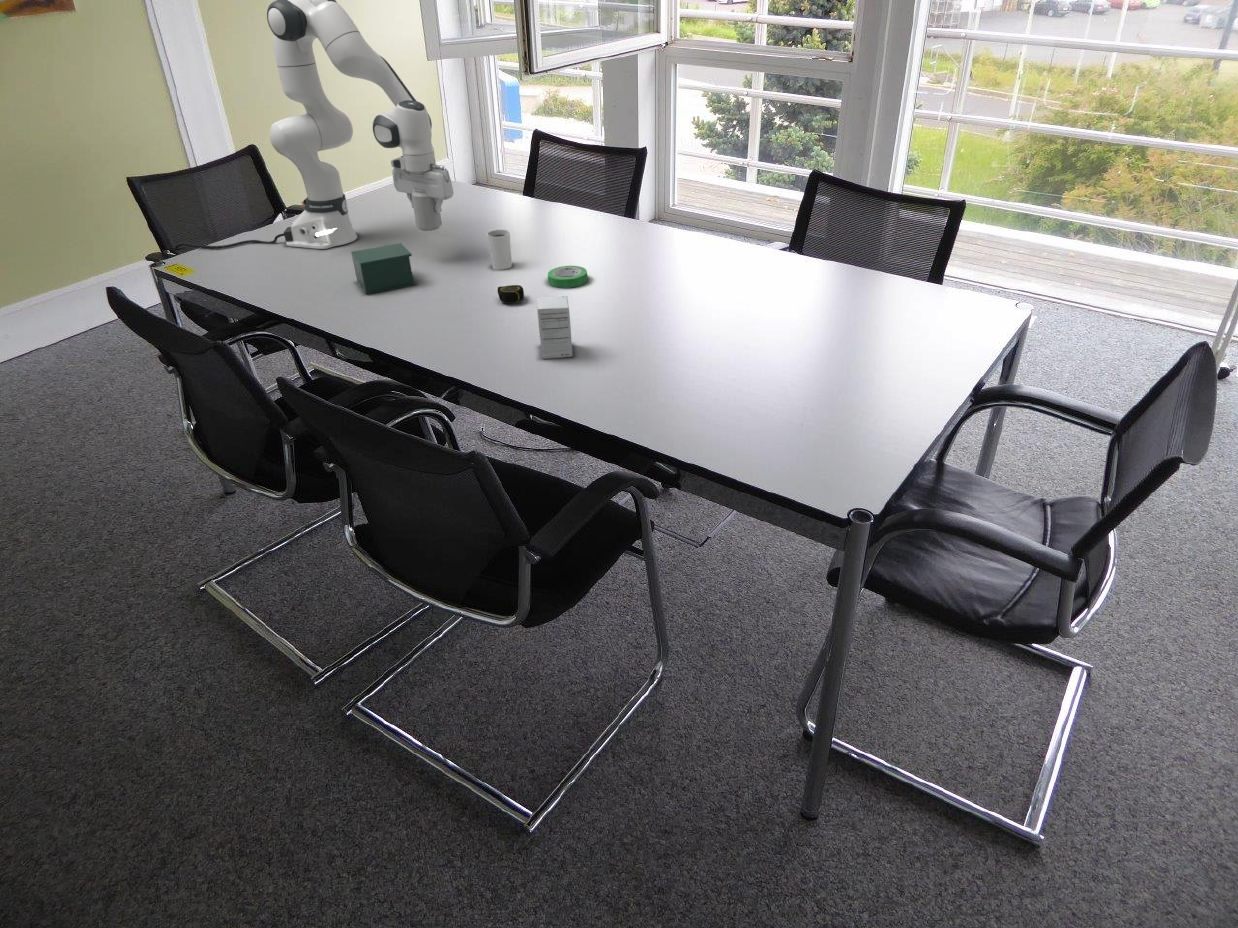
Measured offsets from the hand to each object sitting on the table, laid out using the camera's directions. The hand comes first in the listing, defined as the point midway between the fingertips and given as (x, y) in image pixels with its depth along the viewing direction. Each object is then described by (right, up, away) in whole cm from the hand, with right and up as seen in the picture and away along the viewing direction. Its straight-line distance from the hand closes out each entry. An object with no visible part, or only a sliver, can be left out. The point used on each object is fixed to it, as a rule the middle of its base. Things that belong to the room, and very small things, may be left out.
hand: (426, 210), depth 256 cm
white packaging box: (+42, -48, -49) cm, 81 cm away
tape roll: (+42, -23, -10) cm, 49 cm away
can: (0, -5, +3) cm, 5 cm away
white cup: (+22, -16, +2) cm, 27 cm away
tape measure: (+27, -31, -21) cm, 46 cm away
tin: (-10, -23, -7) cm, 26 cm away
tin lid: (-10, -16, -11) cm, 22 cm away
